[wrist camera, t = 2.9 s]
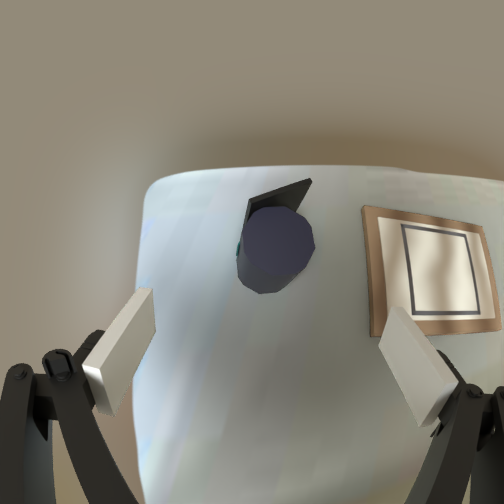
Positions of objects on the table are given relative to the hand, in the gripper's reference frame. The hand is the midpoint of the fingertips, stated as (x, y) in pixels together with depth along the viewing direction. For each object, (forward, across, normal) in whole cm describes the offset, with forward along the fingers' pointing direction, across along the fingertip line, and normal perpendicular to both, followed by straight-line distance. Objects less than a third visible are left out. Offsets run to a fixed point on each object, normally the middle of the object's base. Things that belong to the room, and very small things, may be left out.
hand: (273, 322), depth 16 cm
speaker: (+15, +1, -3) cm, 15 cm away
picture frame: (+15, +21, -2) cm, 26 cm away
